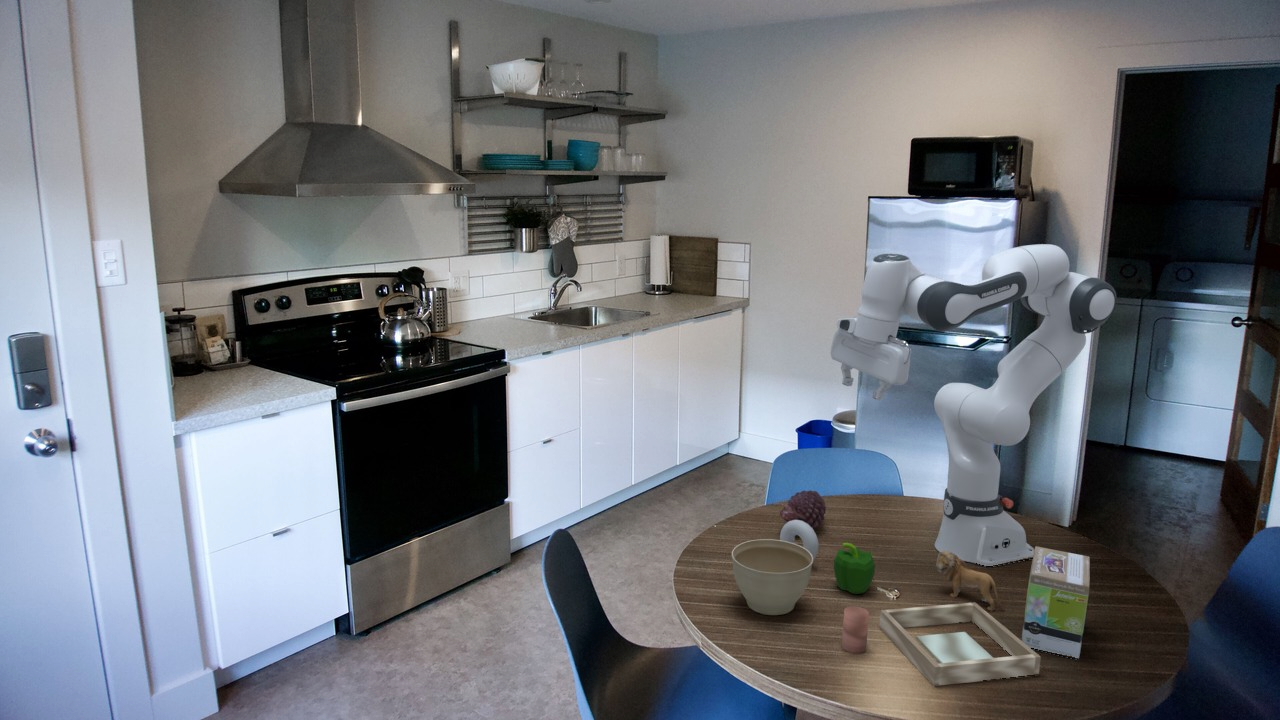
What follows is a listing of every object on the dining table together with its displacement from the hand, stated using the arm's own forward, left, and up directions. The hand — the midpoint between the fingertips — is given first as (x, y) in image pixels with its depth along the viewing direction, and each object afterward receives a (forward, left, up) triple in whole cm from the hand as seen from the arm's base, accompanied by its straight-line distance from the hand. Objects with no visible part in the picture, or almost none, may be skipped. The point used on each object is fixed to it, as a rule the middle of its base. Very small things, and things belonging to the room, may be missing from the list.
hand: (861, 392), depth 181 cm
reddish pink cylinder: (+14, +32, -40) cm, 54 cm away
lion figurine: (-17, +19, -40) cm, 48 cm away
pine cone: (+2, -22, -40) cm, 46 cm away
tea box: (-25, +35, -41) cm, 59 cm away
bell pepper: (+4, +10, -40) cm, 42 cm away
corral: (-4, +36, -40) cm, 54 cm away
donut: (+11, -4, -40) cm, 42 cm away
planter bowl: (+24, +14, -40) cm, 49 cm away
